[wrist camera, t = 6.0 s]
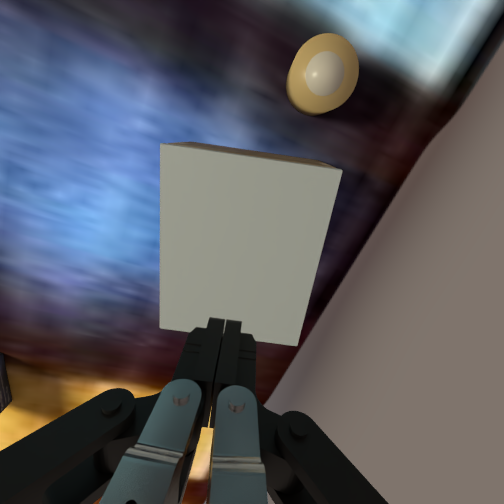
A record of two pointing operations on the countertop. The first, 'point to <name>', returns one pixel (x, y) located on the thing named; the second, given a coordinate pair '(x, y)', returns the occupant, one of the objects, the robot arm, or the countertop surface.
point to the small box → (4, 386)
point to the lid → (240, 239)
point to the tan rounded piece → (322, 74)
